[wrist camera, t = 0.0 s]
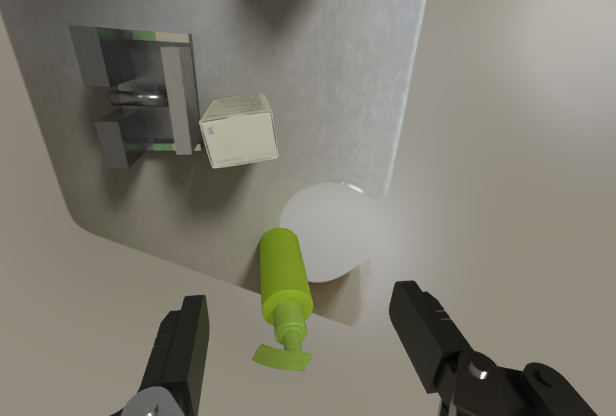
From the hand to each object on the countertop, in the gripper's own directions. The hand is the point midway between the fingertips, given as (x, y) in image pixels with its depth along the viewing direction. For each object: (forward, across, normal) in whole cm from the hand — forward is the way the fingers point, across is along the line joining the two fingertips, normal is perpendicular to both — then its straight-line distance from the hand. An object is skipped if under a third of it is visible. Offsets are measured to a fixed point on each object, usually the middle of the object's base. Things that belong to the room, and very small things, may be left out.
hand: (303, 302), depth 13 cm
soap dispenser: (+30, -1, +17) cm, 34 cm away
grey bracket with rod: (+29, +12, -4) cm, 32 cm away
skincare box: (+30, +3, -2) cm, 30 cm away
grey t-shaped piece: (+28, +12, -4) cm, 31 cm away
